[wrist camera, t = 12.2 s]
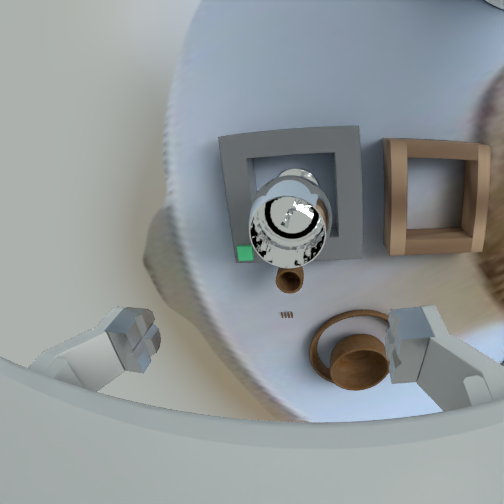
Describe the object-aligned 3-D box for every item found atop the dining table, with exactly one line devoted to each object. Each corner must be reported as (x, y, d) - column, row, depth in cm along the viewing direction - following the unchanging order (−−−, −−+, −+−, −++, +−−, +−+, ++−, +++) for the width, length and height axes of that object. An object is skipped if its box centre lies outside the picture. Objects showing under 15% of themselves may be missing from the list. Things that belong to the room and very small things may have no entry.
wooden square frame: (382, 138, 25) (390, 139, 23) (475, 142, 23) (490, 145, 21) (383, 243, 30) (389, 255, 27) (470, 240, 27) (482, 251, 25)
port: (227, 135, 28) (216, 137, 25) (353, 125, 26) (359, 126, 23) (242, 250, 33) (235, 264, 30) (358, 246, 30) (362, 260, 27)
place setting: (289, 378, 40) (284, 411, 35) (273, 243, 32) (265, 268, 27) (412, 371, 36) (421, 402, 31) (435, 233, 28) (456, 256, 23)
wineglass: (294, 230, 31) (284, 292, 20) (254, 188, 30) (220, 229, 19) (338, 193, 28) (355, 238, 18) (297, 148, 28) (290, 165, 17)
